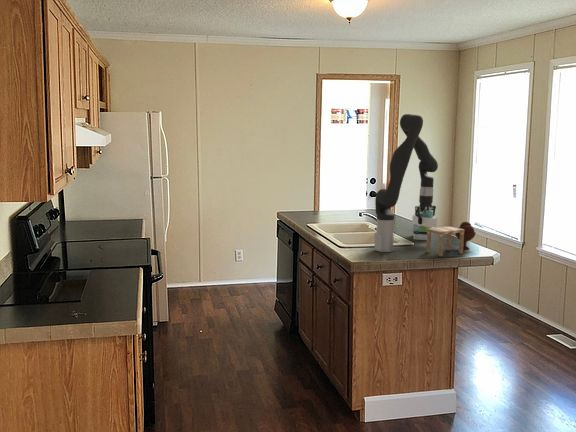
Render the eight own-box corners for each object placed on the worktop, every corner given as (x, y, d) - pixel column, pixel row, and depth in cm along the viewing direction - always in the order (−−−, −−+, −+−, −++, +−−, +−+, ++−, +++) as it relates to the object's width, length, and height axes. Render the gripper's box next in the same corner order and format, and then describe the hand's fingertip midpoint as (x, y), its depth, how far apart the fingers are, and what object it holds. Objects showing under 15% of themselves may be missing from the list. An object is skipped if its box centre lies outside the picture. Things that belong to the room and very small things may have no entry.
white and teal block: (428, 227, 341) (429, 211, 340) (412, 223, 353) (413, 208, 352) (436, 226, 344) (437, 210, 343) (419, 223, 356) (420, 207, 355)
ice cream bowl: (450, 247, 340) (451, 221, 338) (466, 246, 344) (468, 220, 341) (461, 251, 330) (463, 224, 328) (478, 249, 334) (480, 222, 332)
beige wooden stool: (440, 256, 316) (441, 231, 314) (426, 252, 326) (427, 228, 324) (463, 253, 324) (464, 229, 322) (448, 249, 334) (449, 226, 332)
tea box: (430, 240, 360) (431, 215, 358) (413, 239, 362) (414, 215, 360) (429, 236, 375) (430, 212, 372) (413, 235, 377) (414, 211, 374)
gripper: (421, 195, 339) (419, 225, 342) (440, 195, 346) (438, 224, 349) (412, 194, 346) (410, 223, 348) (431, 193, 353) (429, 222, 355)
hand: (424, 223), depth 348 cm, fingers closed on white and teal block, 6 cm apart
